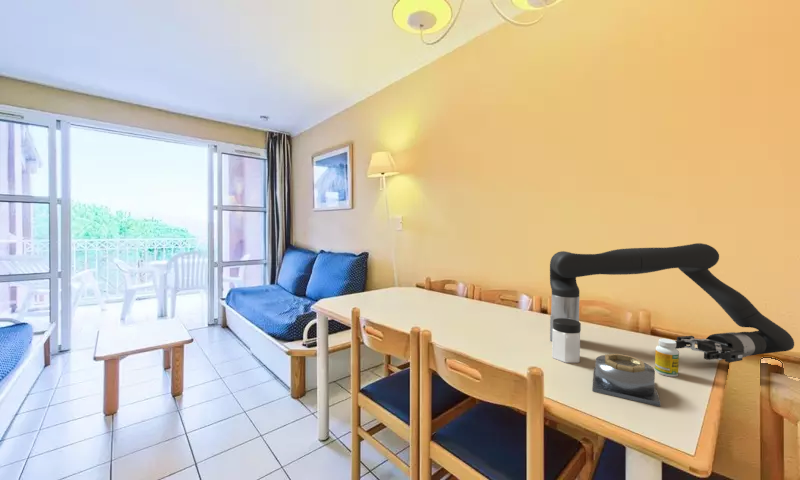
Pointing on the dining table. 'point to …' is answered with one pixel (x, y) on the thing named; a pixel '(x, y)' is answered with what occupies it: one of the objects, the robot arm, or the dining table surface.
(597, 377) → the gold-rimmed grey pod
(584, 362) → the dining table surface
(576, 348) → the jar
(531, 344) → the dining table surface
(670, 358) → the supplement bottle
